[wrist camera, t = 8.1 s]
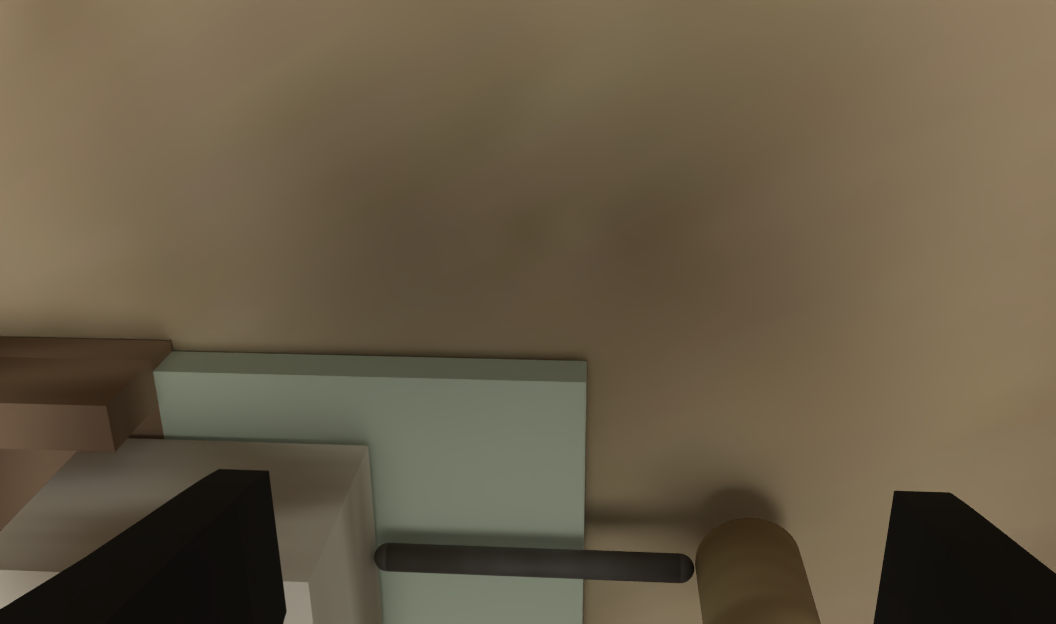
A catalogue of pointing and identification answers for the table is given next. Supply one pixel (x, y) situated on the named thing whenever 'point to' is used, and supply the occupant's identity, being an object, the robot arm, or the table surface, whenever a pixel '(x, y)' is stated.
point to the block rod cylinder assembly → (367, 535)
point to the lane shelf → (70, 406)
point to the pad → (420, 458)
